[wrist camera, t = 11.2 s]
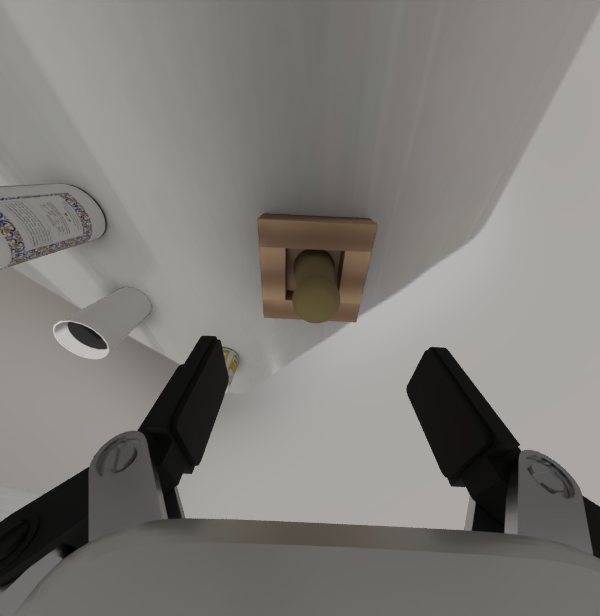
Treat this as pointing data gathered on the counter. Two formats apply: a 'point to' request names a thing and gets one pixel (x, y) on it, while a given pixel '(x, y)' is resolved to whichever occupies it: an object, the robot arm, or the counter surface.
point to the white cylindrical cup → (103, 323)
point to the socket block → (319, 236)
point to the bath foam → (45, 221)
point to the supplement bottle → (230, 364)
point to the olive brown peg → (315, 286)
